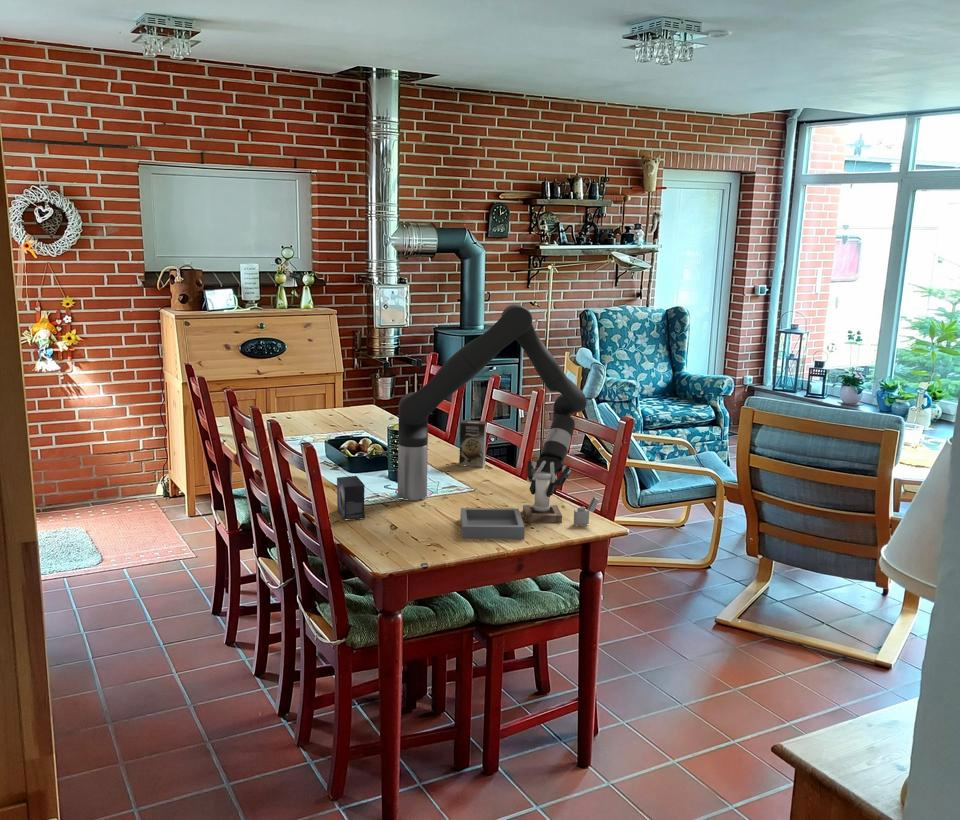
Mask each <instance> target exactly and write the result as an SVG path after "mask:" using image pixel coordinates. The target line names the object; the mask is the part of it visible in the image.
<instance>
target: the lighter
mask: <svg viewBox="0 0 960 820" xmlns="http://www.w3.org/2000/svg"><path fill="white" fill-rule="evenodd" d="M599 502H600V499H599V498H597V497H595V496H593V497H592V499H591V501H590V503H589V505H588V507H587V509H586V507H585V506H578V508H577V509H574V510H573V525H574V524H575V525H583V526H588V525H587V524H589V521H590V512H591V513H594V512H595V509H596V508H597V505H598V503H599ZM575 525H574V526H575Z"/></svg>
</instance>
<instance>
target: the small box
mask: <svg viewBox="0 0 960 820" xmlns="http://www.w3.org/2000/svg"><path fill="white" fill-rule="evenodd" d="M365 487H366V486H365V484H364V483H363V481H362V480H361V479H360V477H358V476H357V475H349V476H348V475H347V476H339V477H336V494H337V498H336V500H337V502H336V504H337V506H336V507H337V511H338V513H339V512H340V513H339V514H340V516H341V515H342V516H343V517H342V516H341V517H342V518H344V519H357V520H359V519H358V518H365V519H366V513H365V510H366V509H365V506H366V504H365ZM344 519H343V520H344Z"/></svg>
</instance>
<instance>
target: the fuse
mask: <svg viewBox="0 0 960 820" xmlns="http://www.w3.org/2000/svg"><path fill="white" fill-rule="evenodd" d="M534 475H535V478H536V482H535V494H534V504H533V505H534V510H536V511H540V512H546V511H549V510H550V505H551V504H550V498H551V496H550V497H547V495H546V492H547V489H548V486H549V484H550V483H551V473H549V472H544V471H541V472H536V471H535V473H534Z"/></svg>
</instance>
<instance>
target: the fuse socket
mask: <svg viewBox="0 0 960 820" xmlns="http://www.w3.org/2000/svg"><path fill="white" fill-rule="evenodd" d="M549 505H550V510H549V511H546V512H540V511H536V510H534V504H523V505H522V513H523V515H524V519H525V521H526V523H562V522H563V514H562V513H561V510H560V508H559V505H557V504H549Z"/></svg>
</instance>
